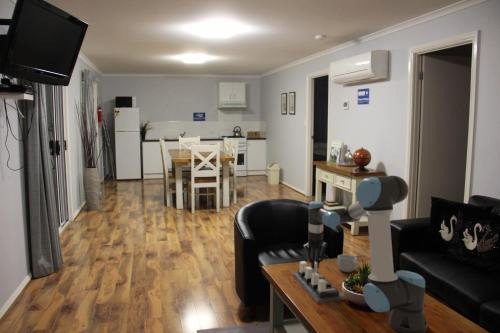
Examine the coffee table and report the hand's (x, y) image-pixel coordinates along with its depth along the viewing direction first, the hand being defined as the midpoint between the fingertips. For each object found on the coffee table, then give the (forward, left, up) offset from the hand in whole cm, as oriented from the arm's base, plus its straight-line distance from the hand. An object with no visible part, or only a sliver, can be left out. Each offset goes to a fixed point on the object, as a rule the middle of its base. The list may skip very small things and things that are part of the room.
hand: (314, 274), depth 210 cm
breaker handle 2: (0, +3, -1) cm, 4 cm away
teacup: (+11, -26, -6) cm, 28 cm away
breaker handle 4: (-16, +3, -1) cm, 16 cm away
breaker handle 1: (+8, +3, -1) cm, 9 cm away
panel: (-4, 0, -5) cm, 7 cm away
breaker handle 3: (-8, +3, -1) cm, 9 cm away
